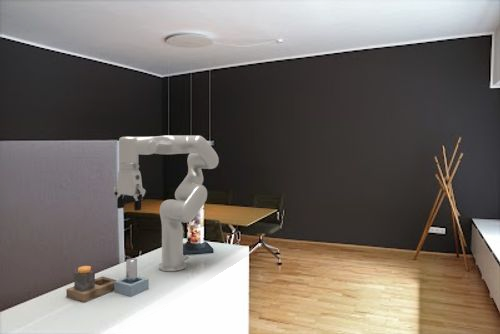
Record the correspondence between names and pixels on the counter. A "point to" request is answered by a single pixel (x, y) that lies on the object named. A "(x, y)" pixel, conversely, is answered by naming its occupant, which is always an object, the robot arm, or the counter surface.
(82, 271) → the release button
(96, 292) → the socket block
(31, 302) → the counter surface
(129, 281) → the grey smooth thick cylinder
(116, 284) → the blue-grey square frame
